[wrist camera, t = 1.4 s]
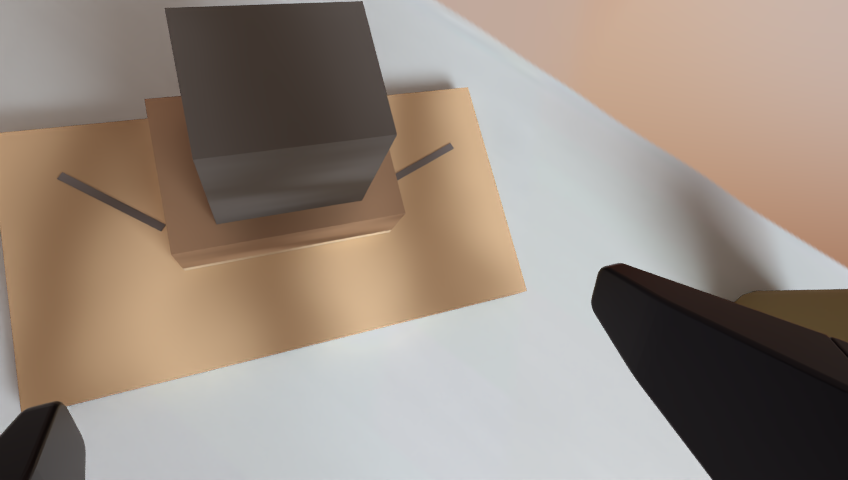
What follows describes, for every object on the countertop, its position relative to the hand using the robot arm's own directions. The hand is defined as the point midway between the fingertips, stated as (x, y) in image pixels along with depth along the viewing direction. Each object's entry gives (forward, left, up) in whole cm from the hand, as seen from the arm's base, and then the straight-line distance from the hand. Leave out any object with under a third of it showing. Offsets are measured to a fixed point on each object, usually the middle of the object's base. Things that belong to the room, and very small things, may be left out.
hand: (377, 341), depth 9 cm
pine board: (+5, +3, -13) cm, 14 cm away
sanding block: (+6, +4, -12) cm, 14 cm away
